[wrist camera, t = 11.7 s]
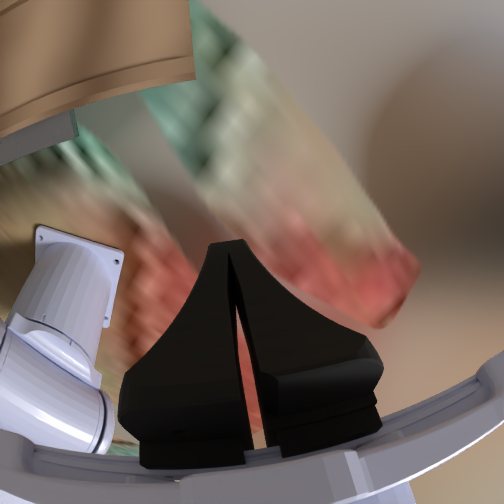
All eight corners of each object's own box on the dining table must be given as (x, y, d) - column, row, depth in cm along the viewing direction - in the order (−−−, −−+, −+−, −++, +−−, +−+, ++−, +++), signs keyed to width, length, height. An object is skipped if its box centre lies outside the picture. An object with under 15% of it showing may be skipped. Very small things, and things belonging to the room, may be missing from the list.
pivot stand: (-2, 165, 16) (-22, 180, 13) (-23, 20, 8) (-45, 20, 6) (78, 135, 16) (61, 146, 14) (61, -28, 9) (43, -38, 6)
